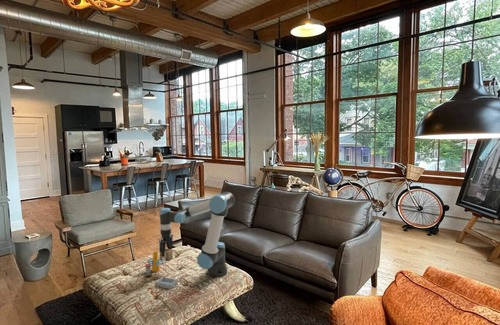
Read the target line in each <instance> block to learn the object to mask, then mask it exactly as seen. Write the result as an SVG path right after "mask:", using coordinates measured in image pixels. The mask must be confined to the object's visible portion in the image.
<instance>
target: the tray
mask: <svg viewBox="0 0 500 325" xmlns="http://www.w3.org/2000/svg"><path fill="white" fill-rule="evenodd" d="M178 284H179V283H178V278H177V279H176V278H171V277H167V276H163V277H161V278H159V279H158V280H157V281H155V286H156V287H159V286H160V287H161V288H164V289H168V288H169V289H168V290H171V289H172V288H173V287H175V286H176V285H178Z"/></svg>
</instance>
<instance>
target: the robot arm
mask: <svg viewBox="0 0 500 325" xmlns="http://www.w3.org/2000/svg"><path fill="white" fill-rule="evenodd" d="M234 204H235V195H234V194H233V193H232V192H229V191H223V192H220V193H219V194H218V193H217V194H215V195H214V196H212V197H211V198H210V199H207V200H206V201H203V202H199V203H197V204H195V205H191V206H189V207H186V208H183V209H180V210H178V211H171V208H169V207H163V208H160V210H159V219H160V220H159V221H160V222H159V223H160V224H159V226H160V227H159V228H160V235H161V238H160V239H158V242H159V243H158V244H159V248H158V249H159V253H160V252H161V253H162V260H163V262H167V261H166V252H165V249H166V247H167V249H170V250H173V246H174V245H173V244H174V243H173V241H174V240H173V237H174V236H173V234H171V233H172V223H176V224H183V223H185V221H186V219H188V218H192V217H195V216H198V215H200V214H203V213H206V212H209V213H210V214H211V216H210V220H209V225H208V229H207V233H206V239H205V242H204V245H203V246H201V250H200V251H201V252H200V253H199V254H198V256H197V257H196V263H197V264H198V266H199V267H200V268H201V269H204V270H206V272H207V276H209V277H213V278H218V277H219V278H220V277H224V276H225V275H227V274H228V272H229V271H228V266H227V264H226V246H225V245H226V244H225V242H222V241H219V240H220V234H221V231H222V228H223V224H224V218H225V217H227V215H228V211H229V208H231V207H232V206H234Z"/></svg>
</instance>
